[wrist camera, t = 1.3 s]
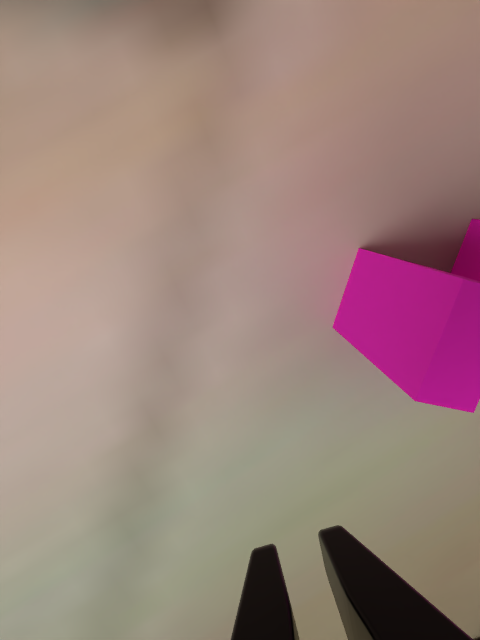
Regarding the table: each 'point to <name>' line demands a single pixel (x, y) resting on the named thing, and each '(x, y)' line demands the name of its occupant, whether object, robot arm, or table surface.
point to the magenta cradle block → (419, 323)
